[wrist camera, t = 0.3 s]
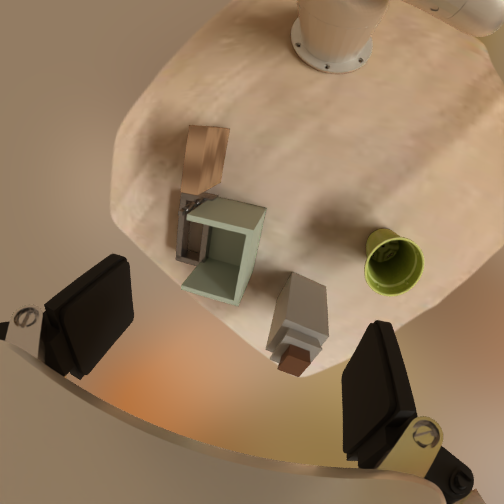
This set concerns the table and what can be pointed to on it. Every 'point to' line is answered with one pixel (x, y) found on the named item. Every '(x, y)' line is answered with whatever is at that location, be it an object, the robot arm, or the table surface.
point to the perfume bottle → (298, 324)
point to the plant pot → (392, 263)
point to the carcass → (226, 249)
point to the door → (203, 158)
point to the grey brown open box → (187, 206)
